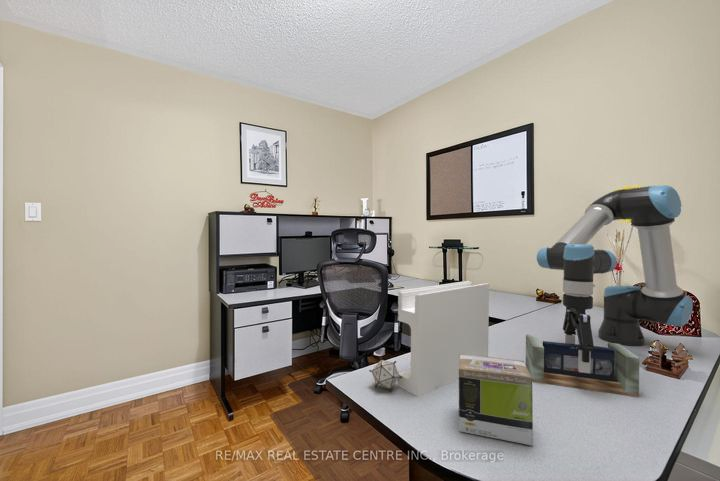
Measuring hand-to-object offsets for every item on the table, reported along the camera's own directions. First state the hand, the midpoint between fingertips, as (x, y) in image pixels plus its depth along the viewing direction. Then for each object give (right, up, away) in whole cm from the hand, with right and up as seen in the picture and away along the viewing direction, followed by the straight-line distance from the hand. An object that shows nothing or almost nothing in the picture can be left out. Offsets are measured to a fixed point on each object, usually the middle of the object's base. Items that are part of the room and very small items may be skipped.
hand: (576, 363), depth 95 cm
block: (-39, -5, +3) cm, 40 cm away
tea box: (-36, -6, -23) cm, 43 cm away
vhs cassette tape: (0, -5, 0) cm, 5 cm away
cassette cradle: (0, -5, 0) cm, 5 cm away
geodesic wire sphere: (-59, -5, -5) cm, 60 cm away
